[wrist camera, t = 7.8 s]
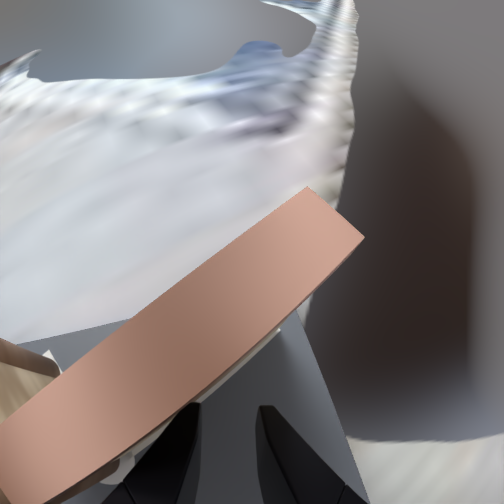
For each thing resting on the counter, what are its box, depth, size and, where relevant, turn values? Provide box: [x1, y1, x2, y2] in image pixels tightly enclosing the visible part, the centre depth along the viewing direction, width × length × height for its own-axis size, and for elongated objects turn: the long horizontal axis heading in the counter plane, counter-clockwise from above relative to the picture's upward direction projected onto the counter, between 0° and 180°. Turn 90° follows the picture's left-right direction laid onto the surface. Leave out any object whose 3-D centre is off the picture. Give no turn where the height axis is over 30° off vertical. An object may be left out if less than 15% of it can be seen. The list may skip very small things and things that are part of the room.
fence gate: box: [0, 186, 364, 504], centre depth 8 cm, size 12×2×9 cm, turn 133°
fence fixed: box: [0, 338, 60, 424], centre depth 7 cm, size 4×2×9 cm, turn 44°
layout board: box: [17, 310, 370, 504], centre depth 11 cm, size 18×16×1 cm
